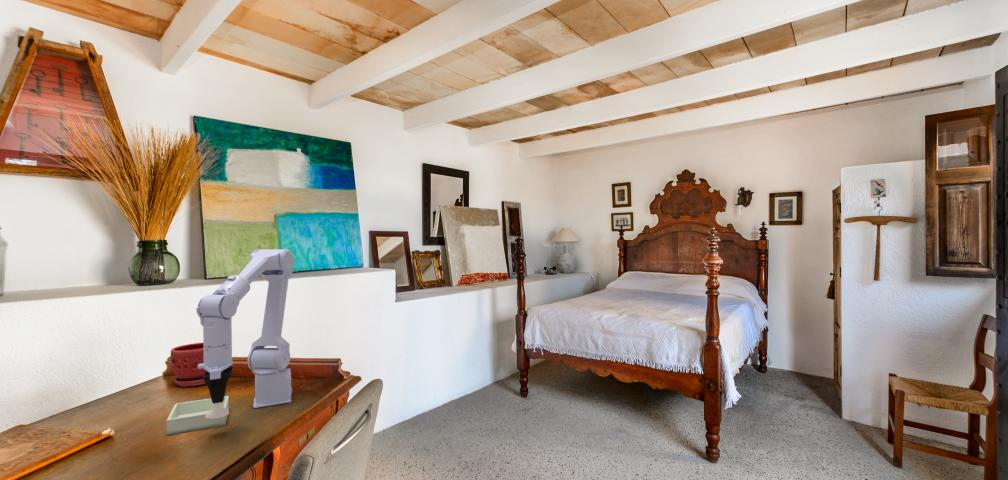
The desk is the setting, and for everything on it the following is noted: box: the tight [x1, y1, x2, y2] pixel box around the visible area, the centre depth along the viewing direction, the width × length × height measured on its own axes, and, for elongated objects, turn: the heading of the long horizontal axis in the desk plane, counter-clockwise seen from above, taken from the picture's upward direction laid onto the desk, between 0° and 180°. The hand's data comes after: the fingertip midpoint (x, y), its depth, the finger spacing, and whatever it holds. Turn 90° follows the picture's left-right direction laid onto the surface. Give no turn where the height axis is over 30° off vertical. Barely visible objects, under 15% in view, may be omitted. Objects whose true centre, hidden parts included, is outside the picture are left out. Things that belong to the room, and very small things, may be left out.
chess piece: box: [205, 402, 230, 419], centre depth 107 cm, size 5×5×10 cm
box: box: [165, 395, 230, 436], centre depth 115 cm, size 12×12×4 cm
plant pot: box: [170, 342, 207, 387], centre depth 145 cm, size 13×13×12 cm
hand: (218, 400), depth 107 cm, fingers closed on chess piece, 2 cm apart
